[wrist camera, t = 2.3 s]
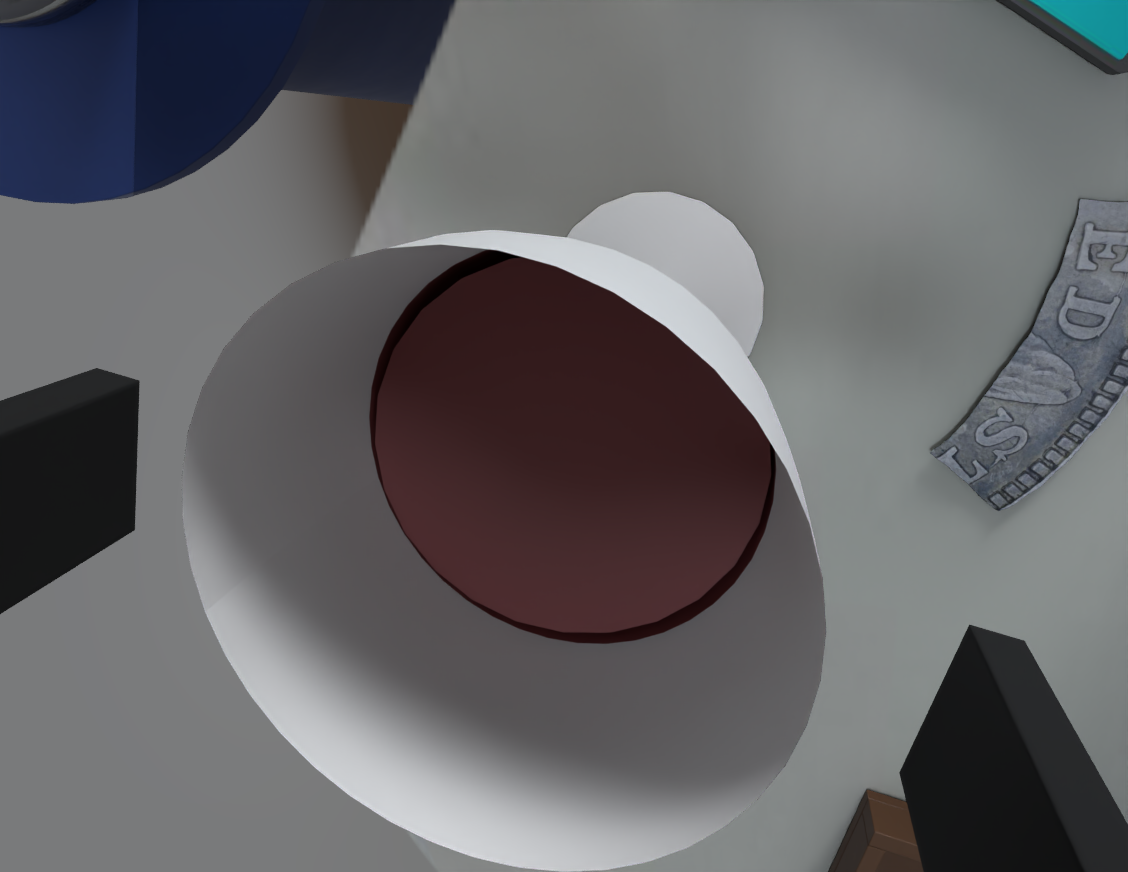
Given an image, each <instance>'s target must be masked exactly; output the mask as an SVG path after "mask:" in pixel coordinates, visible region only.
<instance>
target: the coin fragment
mask: <svg viewBox="0 0 1128 872" xmlns="http://www.w3.org/2000/svg"><path fill="white" fill-rule="evenodd" d="M1127 389H1128V202H1106V201H1098V200H1088V199H1080V202H1079V213H1078V216H1077V219H1076V223H1075V226H1074V228H1073V231H1072V233H1071V235H1070V239H1069V244H1068V245H1067V248H1066V254H1065V256H1064V259H1063V263H1062V265H1061V269H1060V271H1059V273H1058V275H1057V277H1056V279H1055V281H1054V283H1053V284H1052V286H1051V288H1050V289H1049V291H1048V293H1047V296H1046V299H1045V301H1044V304H1043V306H1042V308H1041V310H1040V312H1039V315H1038V317H1037V320H1036V322H1035V325H1034V327H1033V329H1032V332H1031V333H1030V335H1029V336H1028V338H1027V339H1026V340H1025V341H1024V342H1023V343H1022V345H1021V346H1020V347H1019V349H1018V350H1017V352H1016V354H1015V355H1014V356H1013V358H1012V360H1011V361H1010V362H1009V364H1008V365H1007V366H1006V368H1005V369H1004V370H1002V372H1001V373H1000V374H999V376H998V378H997V380H996V381H995V382H994V383H993V385H992V387H991V388H990V389H989V390H988V392H987V393H986V394H985V395H984V396H983V399H982V400H980V403H979V404H978V405H977V407H976V408H975V409H974V410H973V412H972V413H971V415H970V416H969V418H968V419H967V420H966V421H965V423H964V424H963V425H961V426H960V428H959V429H958V430H957V431H956V432H955V433H954V434H953V435H951V437H950V438H949V439H948V440H946V441H945V442H944V443H943V444H942V445H940V446H938V447H936V448H934V449H933V450H932V452H930V453H931V454H932V455H933V456H934V457H935V458H937V459H938V460H940V461H941V462H943V463H944V464H946V465H947V466H948V467H949V468H950V469H951V470H953V471H954V472H955V473H956V474H957V475H958V476H959V477H960V478H962V479H964V481H965V482H966V483H968V484H969V485H970V487H972V489H973V490H974V491H975V492H976V493H977V494H978V495H979V496H980V497H981V498H982V499H983V500H984V501H986V502H987V503H988V504H989V505H991V506H992V507H993V508H994V509H996V510H998V511H1000V510H1002V509H1006V508H1009V507H1010V506H1012V505H1014V504H1016V503H1017V502H1018V501H1019V500H1020V499H1022V498H1023V497H1024V496H1026V495H1027V494H1029V493H1032V492H1033V491H1034V490H1036V489H1038V488H1039V487H1041V486H1042V485H1043V484H1044V483H1045V482H1046V481H1047V480H1048V479H1049V478H1050V477H1051V476H1052V475H1053V474H1054V473H1055V471H1056V470H1058V469H1059V468H1060V467H1062V466H1063V465H1064V464H1066V462H1068V461H1069V459H1070V458H1072V456H1073V455H1074V454H1075V453H1076V452H1077V451H1078V450H1079V448H1080V447H1081V446H1082V444H1083V443H1084V442H1085V441H1086V440H1087V439H1088V437H1090V436H1091V434H1092V433H1093V432H1094V431H1095V430H1096V429H1097V428H1098V427H1100V425H1101V423H1102V422H1103V421H1104V420H1106V418H1107V417H1108V416H1109V414H1110V413H1111V412H1112V410H1113V409H1114V407H1115V406H1116V404H1117V403H1118V401H1119V400H1120V399H1121V398H1122V396H1123V395H1124V394H1125V393H1126V391H1127Z"/></svg>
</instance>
